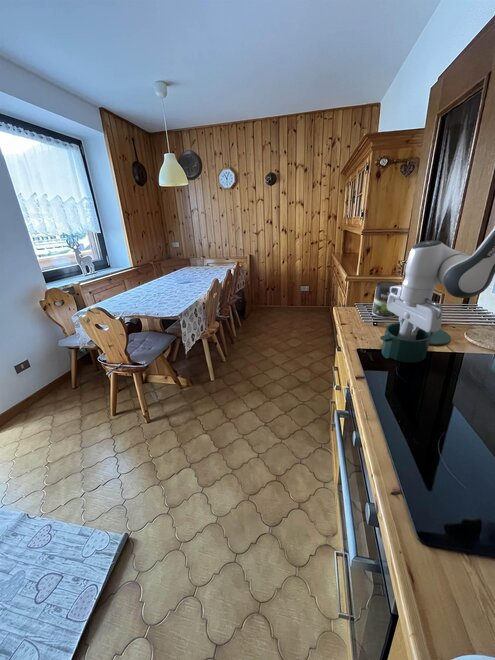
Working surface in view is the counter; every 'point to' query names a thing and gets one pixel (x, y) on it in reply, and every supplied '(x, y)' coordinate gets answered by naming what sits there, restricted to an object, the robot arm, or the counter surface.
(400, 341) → the pot
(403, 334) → the salt shaker
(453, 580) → the counter surface
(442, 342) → the lid
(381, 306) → the coffee can
